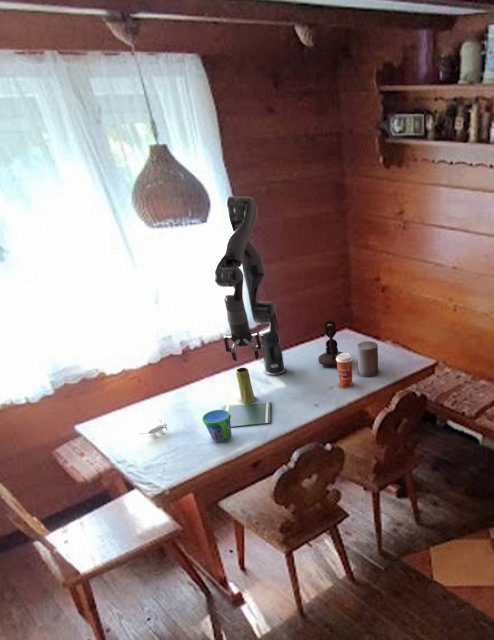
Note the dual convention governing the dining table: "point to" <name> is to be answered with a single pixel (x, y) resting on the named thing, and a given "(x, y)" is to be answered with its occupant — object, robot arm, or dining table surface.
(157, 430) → the grey animal figurine
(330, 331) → the dark brown sculpture
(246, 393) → the vase
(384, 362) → the dining table surface
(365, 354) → the pillar candle
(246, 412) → the green board
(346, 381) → the paper cup
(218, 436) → the snack cup
